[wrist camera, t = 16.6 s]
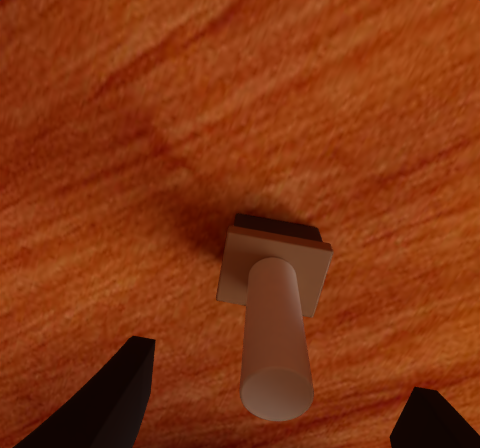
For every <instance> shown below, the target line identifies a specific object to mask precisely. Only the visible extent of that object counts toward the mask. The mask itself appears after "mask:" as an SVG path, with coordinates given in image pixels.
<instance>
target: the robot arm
mask: <svg viewBox="0 0 480 448" xmlns="http://www.w3.org/2000/svg"><path fill="white" fill-rule="evenodd" d="M154 351H155V340H154V339H149V338H143V337H138V336H132V337H131V338H129V339H128V340H127V342H126V343H125V344H124V345H123V346H122V347H121V348H120V349H119V350H118V352H117V353H116V354H115V355H114V356H113V357H112V358H111V359H110V360H109V361H108V362H107V363H106V364H105V365H104V366H103V367H102V368H101V369H100V370H99V371H98V372H97V373H96V374H95V375H94V376H93V377H92V378H91V379H90V380H89V381H88V382H87V383H86V384H85V385H84V386H83V387H82V388H81V389H80V390H79V391H78V392H77V393H76V394H75V395H74V396H73V397H71V398H70V399H69V400H68V401H67V402H66V403H65V404H64V405H63V406H61V407H60V408H59V409H58V410H57V411H56V412H55V413H53V414H52V415H51V416H50V417H49V418H48V419H47V420H45V421H44V422H43V423H42V424H41V425H40V426H39V427H37V428H36V429H35V430H34V431H33V432H31V433H30V434H29V435H28V436H26V437H25V438H24V439H23V440H22V441H20V442H19V443H18V444H17V445H15V446H14V447H13V448H132V447H133V444H134V442H135V440H136V437H137V435H138V432H139V429H140V426H141V423H142V419H143V416H144V413H145V410H146V406H147V403H148V400H149V397H150V393H151V382H152V372H153V361H154ZM390 441H391V447H392V448H480V436H479V434H478V433H477V432H476V431H475V430H474V429H473V428H472V427H471V426H470V425H469V424H468V423H467V422H466V421H465V419H464V418H463V417H462V416H461V415H460V414H459V413H458V412H457V411H456V410H455V409H454V408H453V407H452V406H451V405H450V404H449V403H448V401H447V400H446V399H445V398H444V397H443V396H442V395H441V394H440V393H439V392H438V391H436V390H430V389H425V388H419V387H414V389H413V391H412V393H411V395H410V397H409V399H408V401H407V403H406V405H405V407H404V409H403V411H402V413H401V415H400V417H399V419H398V421H397V423H396V425H395V427H394V429H393V431H392V433H391V435H390Z"/></svg>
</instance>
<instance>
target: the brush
mask: <svg viewBox="0 0 480 448" xmlns="http://www.w3.org/2000/svg"><path fill="white" fill-rule="evenodd" d="M332 255H333V249H332V247H331V244H329V243H324V242H323V241H322V238H321V235H320V232H319V230H318V228H315V227H310V226H304V225H299V224H293V223H288V222H282V221H277V220H271V219H266V218H261V217H255V216H250V215H244V214H239V213H238V214H236V217H235V222H234V226H229V227H228V231H227V236H226V242H225V248H224V254H223V260H222V266H221V271H220V277H219V283H218V289H217V295H216V300H218V301H223V302H229V303H234V304H240V305H245V306H246V315H245V328H244V340H243V353H242V366H241V378H240V398H241V401H242V403H243V405H244V406H245V407H246V409H247V410H248V411H249V412H251V413H252V414H254V415H255V416H257V417H260V418H262V419H266V420H271V421H285V420H290V419H293V418H296V417H298V416H300V415H302V414H303V413H304V412H305V411H307V409H308V408H309V407H310V405H311V403H312V401H313V397H314V390H313V383H312V377H311V370H310V364H309V357H308V350H307V344H306V337H305V331H304V324H303V318H302V316H306V317H313V316H314V313H315V310H316V306H317V303H318V300H319V297H320V294H321V290H322V287H323V284H324V281H325V278H326V274H327V271H328V268H329V265H330V262H331V258H332Z"/></svg>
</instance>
